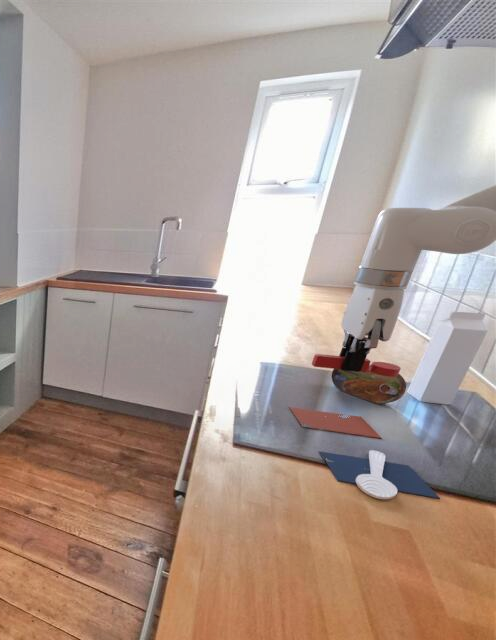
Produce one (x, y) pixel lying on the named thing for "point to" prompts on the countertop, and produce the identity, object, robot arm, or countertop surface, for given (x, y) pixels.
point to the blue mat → (406, 482)
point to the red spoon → (375, 367)
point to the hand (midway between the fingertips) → (347, 368)
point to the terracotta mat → (334, 422)
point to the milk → (448, 357)
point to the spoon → (376, 478)
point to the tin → (369, 385)
